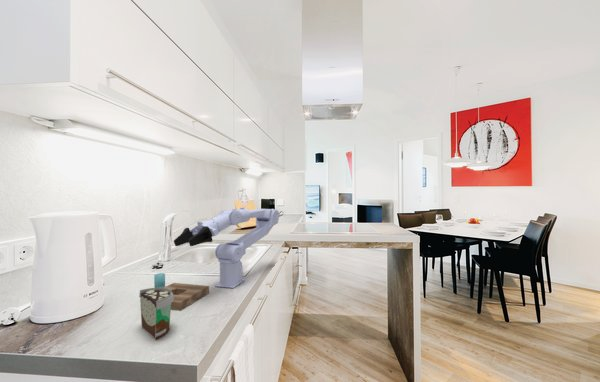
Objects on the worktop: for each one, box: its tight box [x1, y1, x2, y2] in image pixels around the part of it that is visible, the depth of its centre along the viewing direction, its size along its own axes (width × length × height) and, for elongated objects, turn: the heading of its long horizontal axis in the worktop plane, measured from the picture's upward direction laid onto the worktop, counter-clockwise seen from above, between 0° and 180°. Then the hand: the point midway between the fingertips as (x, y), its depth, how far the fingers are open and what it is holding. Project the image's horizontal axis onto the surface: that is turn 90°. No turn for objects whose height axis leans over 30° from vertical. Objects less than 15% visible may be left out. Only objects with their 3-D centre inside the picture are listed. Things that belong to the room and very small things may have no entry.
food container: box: [138, 287, 174, 341], centre depth 74 cm, size 12×6×10 cm, turn 48°
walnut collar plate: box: [164, 282, 210, 311], centre depth 94 cm, size 15×15×2 cm
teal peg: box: [153, 272, 166, 288], centre depth 104 cm, size 4×4×6 cm
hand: (182, 243), depth 90 cm, fingers open, 7 cm apart
